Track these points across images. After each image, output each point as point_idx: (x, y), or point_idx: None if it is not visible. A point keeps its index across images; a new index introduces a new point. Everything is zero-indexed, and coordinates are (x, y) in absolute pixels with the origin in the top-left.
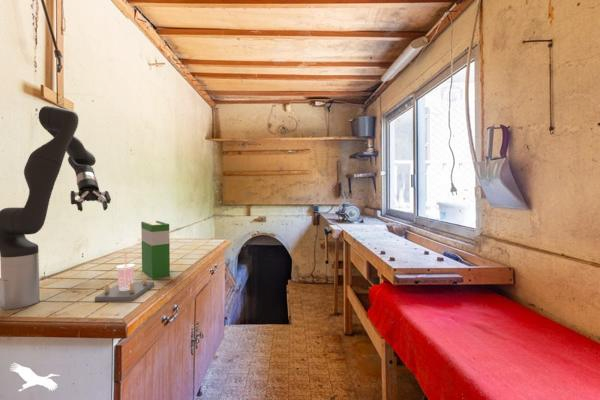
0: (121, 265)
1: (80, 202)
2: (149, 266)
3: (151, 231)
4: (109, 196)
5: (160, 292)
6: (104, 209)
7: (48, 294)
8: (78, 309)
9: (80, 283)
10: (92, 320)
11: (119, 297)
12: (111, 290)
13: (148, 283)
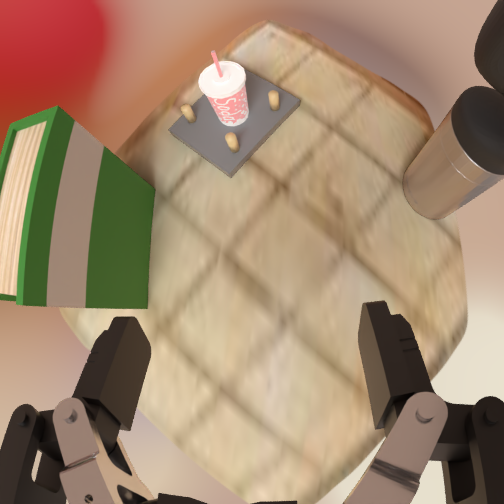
0: (229, 87)
1: (400, 385)
2: (138, 205)
3: (73, 120)
4: (1, 459)
5: (181, 86)
6: (142, 336)
7: (391, 226)
8: (327, 83)
9: (321, 284)
10: (306, 35)
11: (257, 76)
12: (263, 121)
13: (182, 124)
